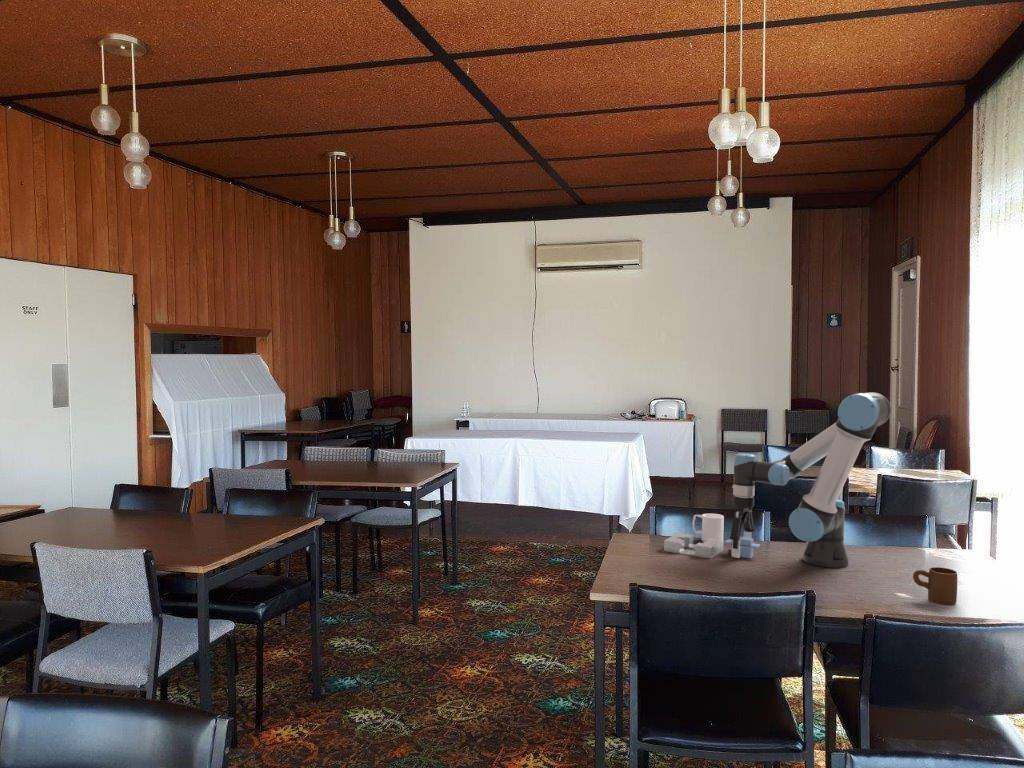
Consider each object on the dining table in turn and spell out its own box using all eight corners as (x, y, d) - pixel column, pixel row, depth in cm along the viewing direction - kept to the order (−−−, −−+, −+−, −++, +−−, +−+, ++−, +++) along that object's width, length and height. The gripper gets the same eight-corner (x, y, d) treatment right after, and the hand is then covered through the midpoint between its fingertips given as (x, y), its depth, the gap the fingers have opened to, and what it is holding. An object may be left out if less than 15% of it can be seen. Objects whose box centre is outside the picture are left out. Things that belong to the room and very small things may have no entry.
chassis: (723, 550, 283) (723, 539, 282) (710, 558, 271) (711, 547, 271) (677, 543, 293) (678, 532, 292) (663, 550, 281) (664, 540, 281)
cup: (691, 537, 303) (692, 512, 302) (722, 539, 300) (723, 514, 299) (692, 542, 295) (692, 516, 294) (723, 544, 292) (724, 518, 291)
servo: (760, 557, 274) (760, 539, 274) (757, 559, 271) (757, 541, 270) (727, 552, 280) (728, 534, 280) (724, 554, 277) (724, 536, 277)
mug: (915, 602, 225) (916, 571, 225) (908, 594, 232) (909, 564, 232) (960, 606, 222) (961, 575, 222) (952, 598, 229) (953, 568, 229)
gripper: (743, 489, 287) (741, 544, 288) (722, 500, 266) (720, 558, 267) (763, 491, 283) (761, 547, 284) (743, 502, 262) (741, 562, 263)
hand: (741, 553), depth 276 cm, fingers open, 13 cm apart
